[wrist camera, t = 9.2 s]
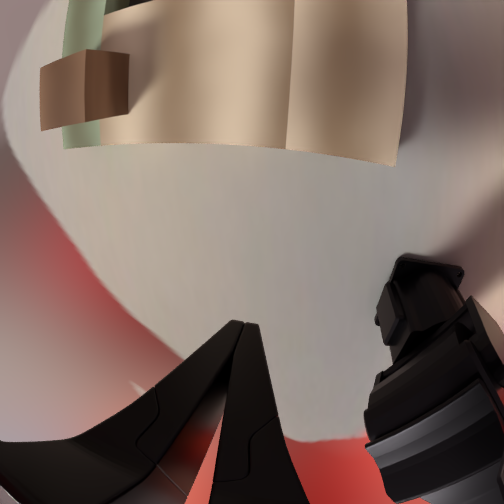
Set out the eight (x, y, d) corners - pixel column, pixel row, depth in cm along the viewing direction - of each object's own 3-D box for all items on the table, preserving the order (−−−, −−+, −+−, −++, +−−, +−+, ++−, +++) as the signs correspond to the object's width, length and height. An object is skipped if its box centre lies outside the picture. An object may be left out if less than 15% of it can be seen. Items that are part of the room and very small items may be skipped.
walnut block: (129, 53, 12) (86, 49, 9) (128, 114, 14) (85, 122, 11) (83, 66, 13) (40, 68, 10) (83, 120, 15) (41, 131, 12)
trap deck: (388, -48, 8) (398, -67, 5) (382, 157, 16) (395, 167, 13) (99, -26, 11) (77, -34, 8) (88, 141, 19) (63, 149, 16)
